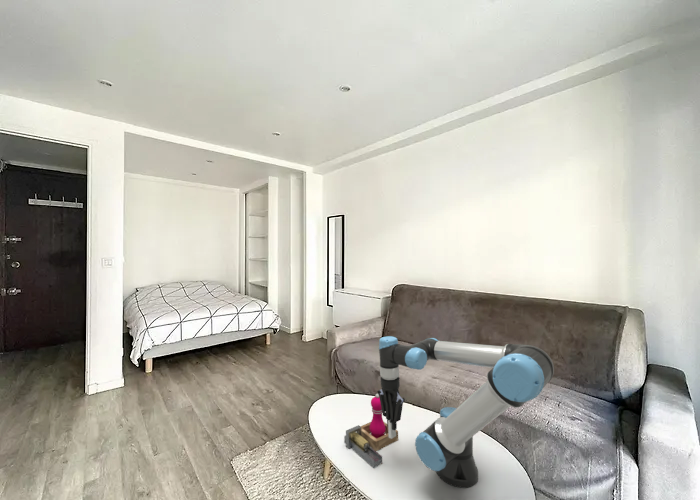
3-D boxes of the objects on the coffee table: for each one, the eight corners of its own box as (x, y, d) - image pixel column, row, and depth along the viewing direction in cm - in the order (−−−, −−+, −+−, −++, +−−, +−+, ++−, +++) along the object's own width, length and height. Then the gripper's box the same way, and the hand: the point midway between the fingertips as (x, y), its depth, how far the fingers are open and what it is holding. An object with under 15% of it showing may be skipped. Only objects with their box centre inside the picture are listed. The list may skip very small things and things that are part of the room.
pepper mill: (372, 444, 133) (372, 398, 133) (367, 435, 140) (367, 391, 140) (388, 441, 135) (388, 396, 135) (382, 432, 142) (381, 389, 142)
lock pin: (369, 449, 126) (369, 442, 126) (364, 452, 125) (364, 445, 125) (354, 437, 135) (354, 430, 135) (349, 439, 133) (349, 432, 133)
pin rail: (384, 462, 122) (384, 444, 122) (371, 469, 118) (371, 451, 118) (354, 437, 138) (354, 422, 138) (342, 443, 134) (341, 427, 134)
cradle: (398, 440, 136) (398, 431, 136) (376, 451, 129) (376, 441, 129) (378, 426, 147) (378, 418, 147) (357, 436, 139) (357, 427, 139)
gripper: (408, 378, 119) (411, 440, 118) (384, 370, 130) (387, 426, 129) (395, 383, 115) (398, 448, 114) (371, 374, 125) (374, 433, 124)
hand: (392, 436), depth 121 cm, fingers closed
